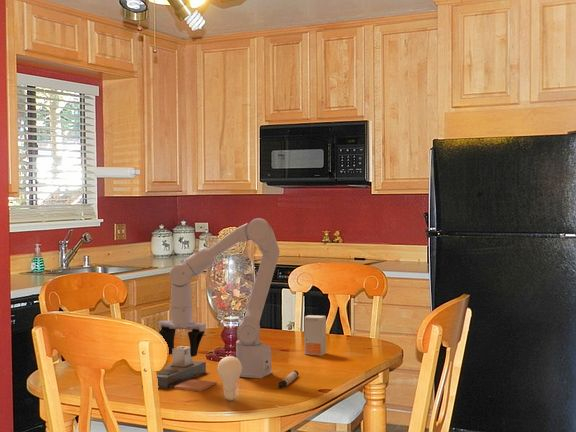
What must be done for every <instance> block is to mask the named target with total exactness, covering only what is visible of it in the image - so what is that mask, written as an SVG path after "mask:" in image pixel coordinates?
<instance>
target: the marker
mask: <svg viewBox="0 0 576 432" xmlns="http://www.w3.org/2000/svg"><path fill="white" fill-rule="evenodd" d="M298 377H299V372H298V370H292V371H291V372H290V373H289V374H288V375H286V376H285V377H284V378H283V379H281V380H280V381H279V382H278V389H285V388H286V387H287V386H289V385H290V384H291V383H292V382H293V381H294V380H296V379H297V378H298Z"/></svg>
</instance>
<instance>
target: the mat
mask: <svg viewBox="0 0 576 432" xmlns="http://www.w3.org/2000/svg"><path fill="white" fill-rule="evenodd" d="M216 384H217V382H216V381H211V380H210V381H209V380H203V379H193V378H191V379H189V380H187V381H185V382H182V383H180V384H178V385H175V386H173V387H174V388H173V389H174V390H175V389H176V390H184V389H186V391H187V390H188V391H197V392H203V391H204V390H206V389H208V387H209V388H210V386H211V387H212V385H213V386H214V385H216Z"/></svg>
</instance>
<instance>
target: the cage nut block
mask: <svg viewBox="0 0 576 432" xmlns="http://www.w3.org/2000/svg"><path fill="white" fill-rule="evenodd" d="M171 355H172V363H173V367H181V368H187V367H189V366H192V361H193V357H191V354H190V346H188V345H187V346H184V345H178V346H174V348H173V349H172V354H171Z"/></svg>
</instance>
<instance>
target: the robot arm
mask: <svg viewBox="0 0 576 432" xmlns="http://www.w3.org/2000/svg"><path fill="white" fill-rule="evenodd" d="M249 240H251V241H252V242H253V243H254V244H255V245H256V246H257V247H258V249H259V251H260V253H261V254H262V257H261V259H260V262H259V267H258V270H257V273H256V276H255V280H254V283H253V287H252V290H251V294H250V298H249V301H248V304H247V307H246V311H245V313H244V316H243V318H242V319H241V320H240V321H239V323H238V324H237V325H238V326H237V327H238V328H236V329H237V330H236V337H237V340H236V341H235V347H236V348H235V350H236V351H235V352H236V354H235V355H236V356H235V357H236V358H237V359H238V360H239V361H240V362H241V365H242V372H241V375H240V377H241V378H251V379H263V378H265V377H266V376H269V375H270V374H272V373H273V370H272V348H271V346H270V345H269V344H265V343H262V340H263V339H260V334H261V333H260V332H261V325H260V323H261V318H262V314H263V311H264V307H265V304H266V301H267V298H268V294H269V291H270V287H271V284H272V280H273V277H274V274H275V270H276V267H277V264H278V260H279V257H280V251H281V250H280V248H279V244H278V241H277V239H276V236H275V232H274V229H273V228H272V227H271V225H270V224H269V222H268V221H267V220H266V219H265V218H260V217H257V218H253V219H252V220H251V221H250V222H249V223H248V222H246V223H245V224H242V225H240V226H239V227H236V228H235V229H232V231H230V233H228V234H226V236H224V237H222V238H221V239H220V240H219V241H217V242H215V244H213V245H211V246H210V247H209V248H208V247H200V248H198V247H197V248H195V250H194V251H193V252H194V253H192V254H191V255H189V256H188V257H187V258H183V259H181V260H180V263H179V264H175V265H174V266H173V267H172V269H171V270H170V271H169V280H170V282H171V285H170V288H171V291H170V310H171V311H170V313H171V314H170V316H171V319H170V320H159V321H157V328H158V329H159V331H158V333H159V335H160V334H161V335H162V336H163V338H164V339H165V341H166V342H167V344H168V347H169V355H172V349H173V348H175V335H176V330H185V331H188V332H187V335H188V341H189V347H190V354H191V357H192V358H194V357H196V356H197V355H198V350H199V347H200V344H201V341H202V339H203V336H204V335H205V331H206V330H207V327H206V326H207V325H206V323H203V322H202V323H201V322H196V321H193V319H192V318H193V312H192V311H193V310H192V289H191V286H192V285H191V280H192V279H193V277H198V276H199V275H200V274H202V273H203V272H204V271H206V270H208V269H209V268H211V267H212V266H213V265H214V264H215V260H216V259H215V258H216V257H218V256H219V255H220V254H222V253H224V252H225V251H227V250H228V249H230V248H232V247H233V246H235V245H236V244H238V243H243V242H249ZM160 329H161V330H160ZM161 335H160V336H161ZM169 355H168V356H169ZM240 377H239V378H240Z"/></svg>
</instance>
